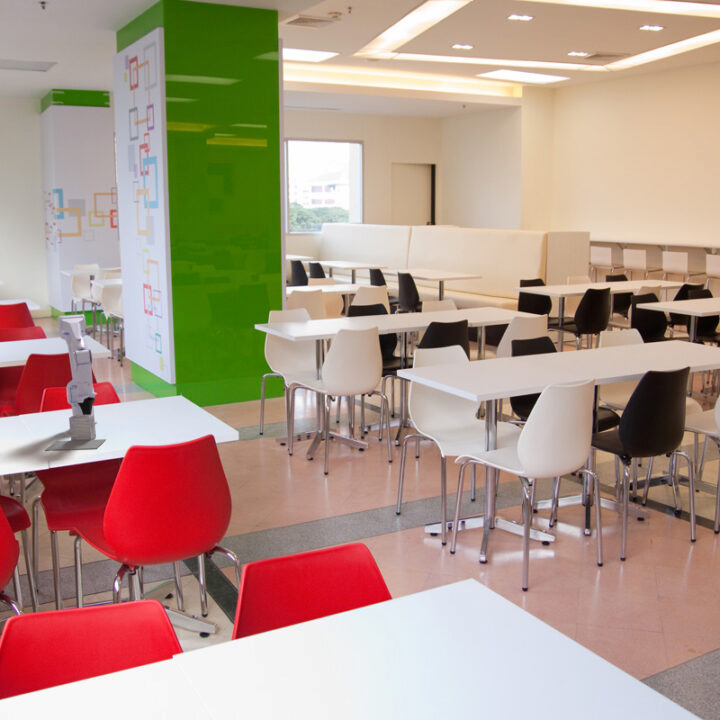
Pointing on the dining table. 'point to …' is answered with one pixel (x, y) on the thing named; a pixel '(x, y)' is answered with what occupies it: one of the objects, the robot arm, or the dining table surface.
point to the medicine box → (82, 427)
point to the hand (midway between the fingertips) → (87, 417)
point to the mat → (75, 444)
